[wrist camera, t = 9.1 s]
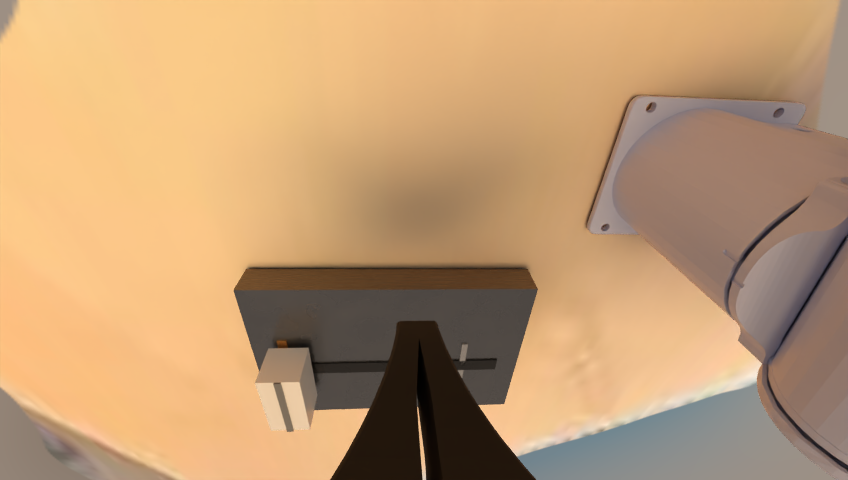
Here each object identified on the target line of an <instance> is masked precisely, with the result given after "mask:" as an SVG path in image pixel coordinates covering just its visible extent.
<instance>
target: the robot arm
mask: <svg viewBox="0 0 848 480" xmlns="http://www.w3.org/2000/svg"><path fill="white" fill-rule="evenodd" d="M651 102H652V106H651V108H650V109H649V110H648V111H646V107H647V105H648V104H649V103H651ZM776 110H777V111H776ZM775 111H776V112H775ZM805 111H806V106H805V104H802V103H798V102H785V101H762V100H739V99H716V98H693V97H670V96H647V95H640V96H637V97H635V98H633V100H632V101H631V102H630V104H629V106H628V108H627V111H626V114H625V117H624V120H623V123H622V126H621V129H620V131H619V134H618V137H617V140H616V143H615V146H614V149H613V152H612V154H611V157H610V160H609V163H608V166H607V169H606V172H605V175H604V177H603V180H602V183H601V186H600V189H599V192H598V195H597V198H596V200H595V203H594V206H593V209H592V212H591V215H590V218H589V221H588V223H587V229H588V230H589V232H591V233H592V234H639V235H641V236H642V237H643V238H644V239H645V240H646V241H647V242H648V243H649V244H650V245H652V246H653V247H654V248H655V249H656V250H657V251H658V252H659V253H660V254H662V255H663V256H664V257H665V258H666V259H667V260H668V261H669V262H670V263H671V264H673V265H674V266H675V267H676V268H677V269H678V270H679V271H680V272H681V273H683V274H684V275H685V276H686V277H687V278H688V279H689V280H690V281H691V282H692V283H694V284H695V285H696V286H697V287H698V288H699V289H700V290H701V291H702V292H703V293H705V294H706V295H707V296H708V297H709V298H710V299H711V300H712V301H713V302H715V303H716V304H717V305H718V306H719V307H720V308H721V309H722V310H723V311H724V312H726V313H727V314H728V315H729V316H730V317H731V318H732V319H733V320H735V321H736V322H737V323H738V325H739V326H740V330H741V333H740V336H739V339H738V341H739V342H740V343H741V344H742V345H743V346H744V347H745V348H746V349H747V350H748V351H750V352H751V353H752V354H753V355H754V356H755V357H756V358H757V359H758V360H759V361H760V362H761V363H762V365H761V367H760V368H759V371H758V376H757V388H758V393H759V396H760V399H761V402H762V404H763V406H764V408H765V410H766V412H767V413H768V415H769V417H770V418H771V419H772V421H773V422H774V423H775V425H776V426H777V428H778V429H779V430H780V431H781V432H782V433H783V434H784V436H785V437H786V438H787V439H788V440H789V441H790V442H791V443H792V444H793V445H794V446H795V447H796V448H797V449H798V450H799V451H800V452H802V453H803V454H804V455H805V456H806V457H807V458H808V459H809V460H810V461H812V462H813V463H814V464H816V465H817V466H818V467H820V468H821V469H822V470H824V471H825V472H826V473H828V474H829V475H830V476H832V477H833V478H835V479H836V480H848V139H847V138H843V137H840V136H836V135H832V134H829V133H825V132H822V131H818V130H814V129H811V128H807V127H803V126H800V125H798V123H799V121H800V120H801V118H802V117H803V115H804V113H805ZM774 112H775V114H774ZM604 224H606V226H605V227H603V228H601V227H602V226H603V225H604ZM417 400H418V408H419V416H420V423H421V431H422V439H423V446H424V454H425V465H426V480H536V479H535V478H534V477H533V476H532V474H531V473H530V472H529V471H528V470H527V469H526V468H525V466H524V465H523V464H522V463H521V462H520V460H519V459H518V458H517V457H516V455H515V454H514V453H513V452H512V451H511V449H510V448H509V447H508V446H507V444H506V443H505V442H504V441H503V439H502V438H501V437H500V435H499V434H498V433H497V431H496V430H495V429H494V427H493V426H492V425H491V423H490V422H489V420H488V419H487V418H486V416H485V415H484V413H483V412H482V410H481V409H480V407H479V406H478V404H477V403H476V401H475V399H474V398H473V396H472V395H471V393H470V391H469V390H468V388H467V386H466V385H465V383H464V381H463V379H462V378H461V376H460V374H459V372H458V370H457V368H456V366H455V364H454V362H453V360H452V358H451V356H450V354H449V352H448V350H447V348H446V345H445V343H444V341H443V338H442V336H441V333H440V330H439V327H438V324H437V322H435V321H399V322H398V323H397V325H396V334H395V339H394V344H393V348H392V351H391V355H390V358H389V361H388V364H387V367H386V370H385V373H384V376H383V378H382V381H381V383H380V386H379V388H378V391H377V393H376V395H375V398H374V400H373V402H372V405H371V407H370V409H369V411H368V413H367V415H366V417H365V419H364V421H363V423H362V425H361V427H360V429H359V431H358V433H357V435H356V437H355V439H354V440H353V442H352V444H351V446H350V448H349V450H348V451H347V453H346V455H345V457H344V458H343V460H342V462H341V463H340V465H339V466H338V468H337V470H336V471H335V473H334V475H333V476H332V478H331V479H330V480H422V468H421V456H420V442H419V429H418V414H417Z"/></svg>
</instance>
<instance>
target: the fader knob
mask: <svg viewBox="0 0 848 480" xmlns="http://www.w3.org/2000/svg"><path fill="white" fill-rule="evenodd" d="M255 385H256V388H257V391H258V394H259V397H260V400H261V403H262V406H263V409H264V412H265V415H266V418H267V420H268V423H269V426H270V429H271V431H277V430H287V432H291V431H294V430H305V429H310V427H311V423H312V418H313V413H314V408H315V404H316V399H317V390H316V385H315V380H314V374H313V369H312V364H311V358H310V353H309V348H268V351H267V353H266V356H265V358H264V361H263V363H262V366H261V369H260V371H259V374H258V376H257V379H256V382H255Z"/></svg>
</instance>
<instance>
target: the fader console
mask: <svg viewBox="0 0 848 480" xmlns="http://www.w3.org/2000/svg"><path fill="white" fill-rule="evenodd" d="M537 290H538V289H537V287H536V285H535V283H534V281H533V279H532V277H531V275H530V273H529V271H528V269H246V270H245V272H244V274H243V275H242V277H241V279H240V280H239V282H238V284H237V285H236V287H235V289H234V293H235V296H236V300H237V303H238V306H239V309H240V312H241V315H242V319H243V322H244V325H245V328H246V331H247V334H248V337H249V341H250V344H251V347H252V350H253V353H254V356H255V360H256V363H257V366H258V369H259V371H260V369H261V366H262V363H263V361H264V358H265V356H266V353H267V351H268V348H309V353H310V358H311V364H312V369H313V374H314V380H315V385H316V390H317V399H316V404H315V408H314V410H328V409H360V408H370V407H371V405H372V402H373V400H374V398H375V395H376V393H377V391H378V388H379V386H380V383H381V381H382V378H383V376H384V373H385V370H386V367H387V364H388V361H389V358H390V355H391V351H392V348H393V344H394V339H395V334H396V325H397V323H398V322H399V321H435V322H437V324H438V327H439V330H440V333H441V336H442V338H443V341H444V343H445V345H446V348H447V350H448V352H449V354H450V356H451V358H452V360H453V362H454V364H455V366H456V368H457V370H458V372H459V374H460V376H461V378H462V379H463V381H464V383H465V385H466V386H467V388H468V390H469V391H470V393H471V395H472V396H473V398H474V399H475V401H476V403H477V404H478V405H488V404H504V402H505V399H506V396H507V392H508V389H509V385H510V382H511V379H512V375H513V372H514V368H515V365H516V361H517V358H518V355H519V351H520V348H521V344H522V341H523V338H524V334H525V331H526V327H527V324H528V321H529V317H530V314H531V310H532V307H533V304H534V300H535V297H536V293H537ZM417 407H418V400H417Z"/></svg>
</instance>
